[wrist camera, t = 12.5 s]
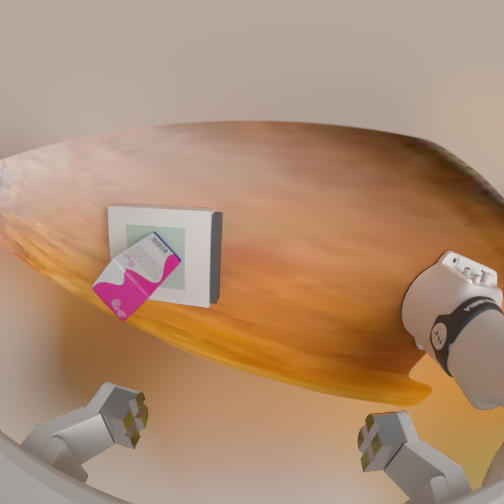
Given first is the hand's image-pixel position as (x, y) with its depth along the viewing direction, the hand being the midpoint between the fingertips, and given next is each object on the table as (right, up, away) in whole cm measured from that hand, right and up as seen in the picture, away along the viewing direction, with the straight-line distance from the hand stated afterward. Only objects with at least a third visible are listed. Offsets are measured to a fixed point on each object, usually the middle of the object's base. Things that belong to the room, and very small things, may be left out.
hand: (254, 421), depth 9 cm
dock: (-14, +6, +34) cm, 37 cm away
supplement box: (-14, +5, +31) cm, 34 cm away
